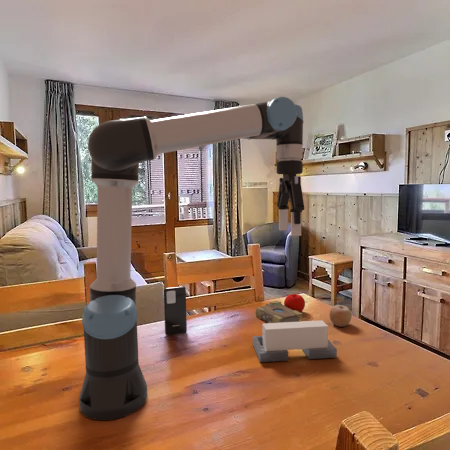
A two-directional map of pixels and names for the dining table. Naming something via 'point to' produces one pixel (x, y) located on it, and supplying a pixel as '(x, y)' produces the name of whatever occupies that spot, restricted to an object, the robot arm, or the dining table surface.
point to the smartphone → (175, 310)
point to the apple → (295, 302)
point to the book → (277, 313)
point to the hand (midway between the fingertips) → (289, 232)
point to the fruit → (340, 315)
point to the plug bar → (295, 335)
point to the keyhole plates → (283, 354)
